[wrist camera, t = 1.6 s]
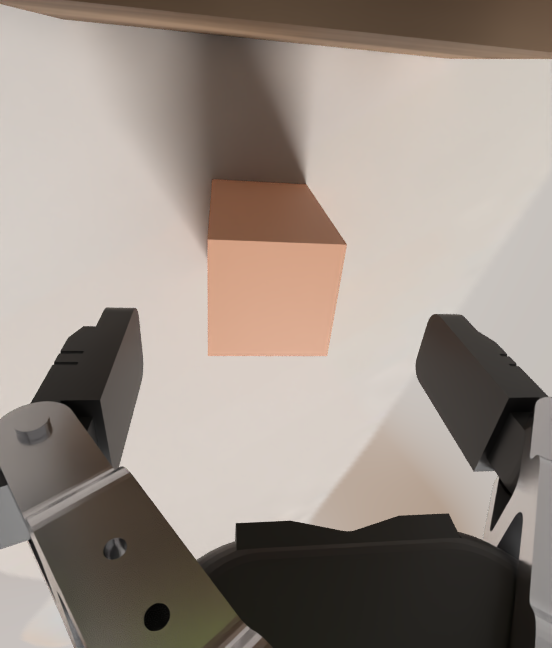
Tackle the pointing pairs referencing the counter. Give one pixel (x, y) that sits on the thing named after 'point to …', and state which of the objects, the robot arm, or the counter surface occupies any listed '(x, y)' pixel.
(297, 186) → the peg
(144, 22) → the hole block
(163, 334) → the counter surface
